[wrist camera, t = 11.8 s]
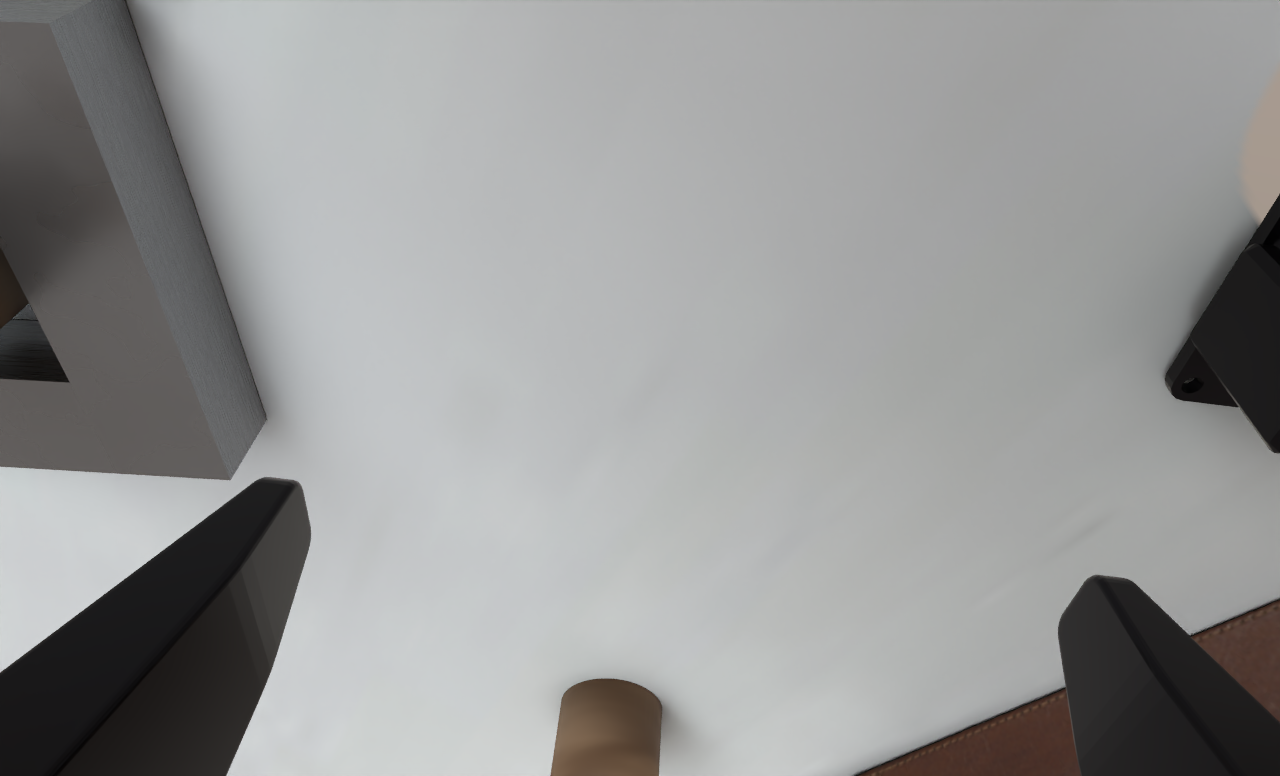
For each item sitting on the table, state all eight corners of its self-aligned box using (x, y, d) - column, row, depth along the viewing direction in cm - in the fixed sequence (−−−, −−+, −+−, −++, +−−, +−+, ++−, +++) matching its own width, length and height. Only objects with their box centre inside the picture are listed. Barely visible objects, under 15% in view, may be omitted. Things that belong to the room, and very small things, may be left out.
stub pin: (667, 685, 33) (662, 817, 29) (655, 738, 36) (648, 866, 32) (564, 673, 33) (544, 804, 29) (559, 727, 36) (540, 854, 32)
